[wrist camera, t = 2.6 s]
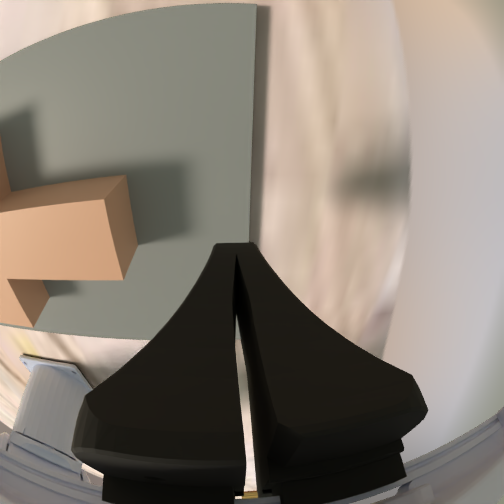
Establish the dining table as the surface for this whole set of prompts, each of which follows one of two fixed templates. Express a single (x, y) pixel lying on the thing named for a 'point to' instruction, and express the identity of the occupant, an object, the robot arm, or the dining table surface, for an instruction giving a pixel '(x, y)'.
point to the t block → (60, 239)
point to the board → (139, 148)
